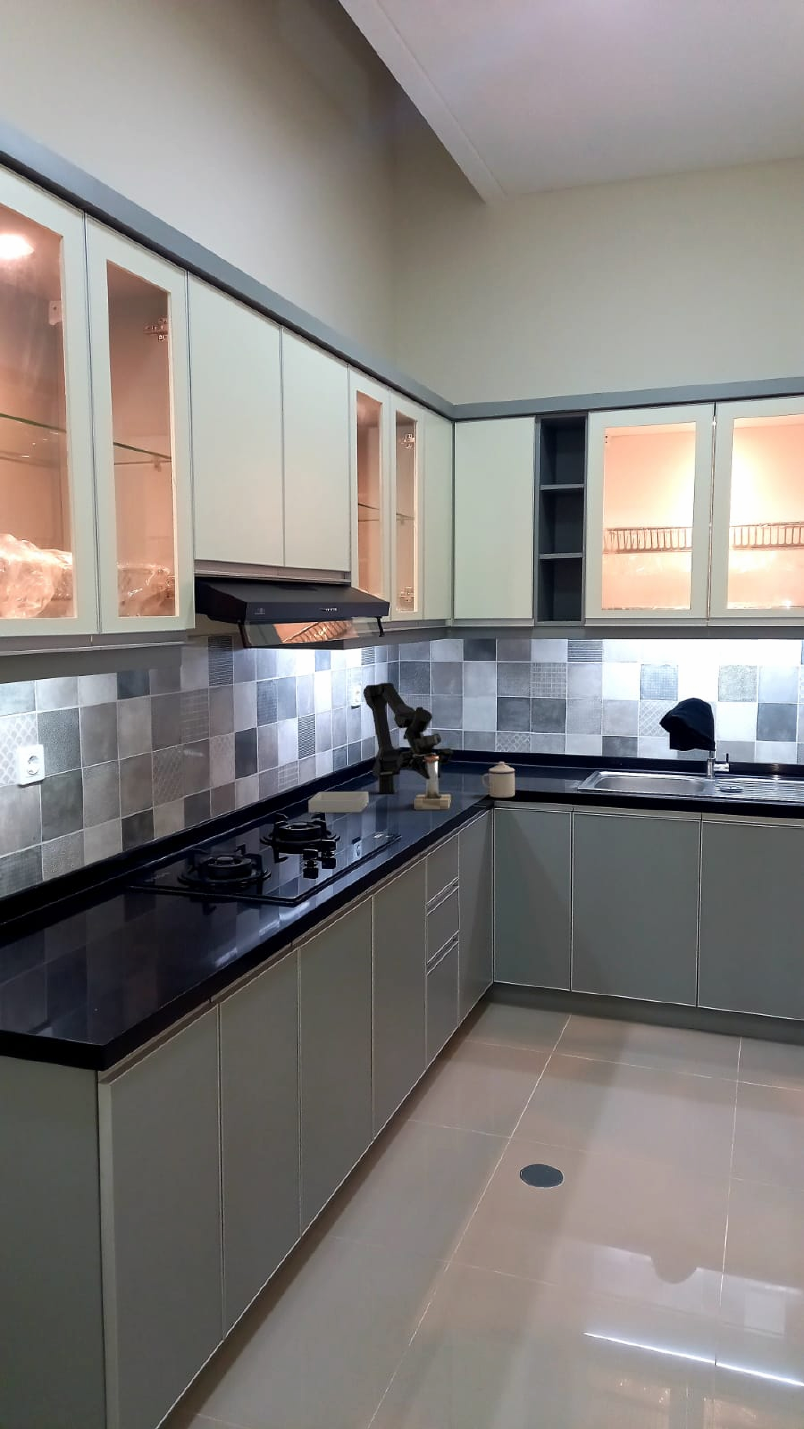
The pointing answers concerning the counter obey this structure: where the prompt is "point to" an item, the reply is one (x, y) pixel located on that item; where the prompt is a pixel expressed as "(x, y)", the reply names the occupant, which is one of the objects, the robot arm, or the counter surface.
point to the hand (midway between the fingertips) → (434, 778)
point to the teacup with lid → (500, 781)
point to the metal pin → (432, 777)
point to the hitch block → (432, 802)
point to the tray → (338, 802)
